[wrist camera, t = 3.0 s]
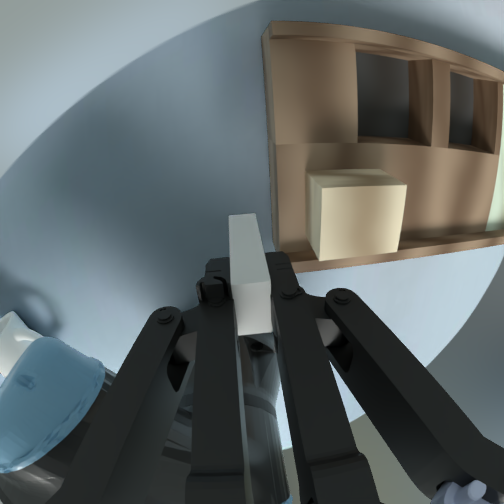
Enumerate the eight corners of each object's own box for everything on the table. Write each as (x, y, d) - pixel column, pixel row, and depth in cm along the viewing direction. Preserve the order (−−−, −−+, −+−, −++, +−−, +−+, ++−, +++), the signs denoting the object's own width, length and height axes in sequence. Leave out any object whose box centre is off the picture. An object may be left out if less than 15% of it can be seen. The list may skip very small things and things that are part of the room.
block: (304, 234, 23) (319, 261, 19) (305, 170, 20) (321, 188, 17) (374, 227, 23) (396, 251, 20) (379, 168, 21) (406, 185, 17)
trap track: (272, 241, 27) (283, 274, 23) (260, 37, 18) (271, 20, 14) (495, 221, 29) (521, 241, 24) (510, 86, 20) (543, 93, 15)
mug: (40, 364, 35) (24, 403, 28) (-2, 318, 30) (-26, 356, 23) (86, 349, 33) (69, 397, 26) (37, 294, 28) (8, 340, 21)
